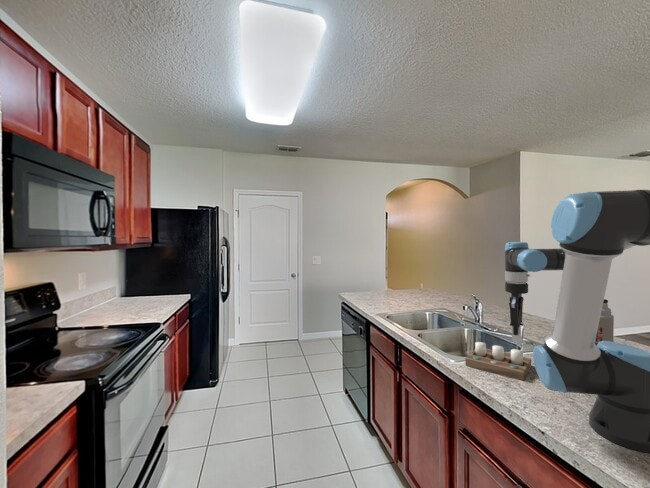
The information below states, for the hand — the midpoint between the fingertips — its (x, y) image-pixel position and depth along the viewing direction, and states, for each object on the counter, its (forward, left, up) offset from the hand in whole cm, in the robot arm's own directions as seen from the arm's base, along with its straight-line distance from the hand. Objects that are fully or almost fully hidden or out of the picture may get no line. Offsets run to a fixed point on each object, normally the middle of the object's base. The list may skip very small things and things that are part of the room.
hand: (516, 342), depth 119 cm
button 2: (0, +6, -8) cm, 11 cm away
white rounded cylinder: (0, +13, -8) cm, 15 cm away
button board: (0, +6, -11) cm, 13 cm away
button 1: (0, 0, -8) cm, 8 cm away
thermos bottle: (+16, -24, -11) cm, 31 cm away
